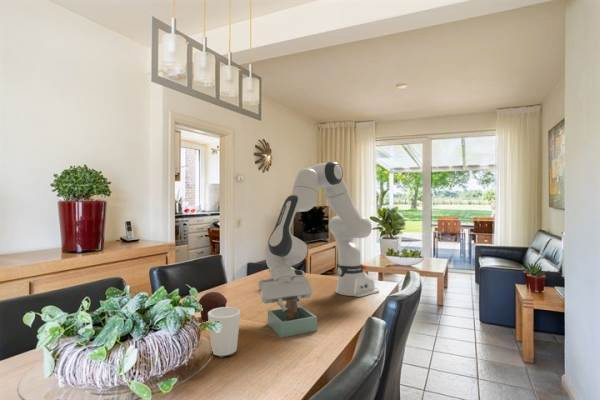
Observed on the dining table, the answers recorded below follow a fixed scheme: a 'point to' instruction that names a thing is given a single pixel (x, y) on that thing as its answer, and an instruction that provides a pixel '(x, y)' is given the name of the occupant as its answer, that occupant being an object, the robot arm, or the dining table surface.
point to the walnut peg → (291, 309)
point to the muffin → (211, 303)
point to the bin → (292, 322)
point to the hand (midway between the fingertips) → (292, 309)
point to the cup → (225, 330)
